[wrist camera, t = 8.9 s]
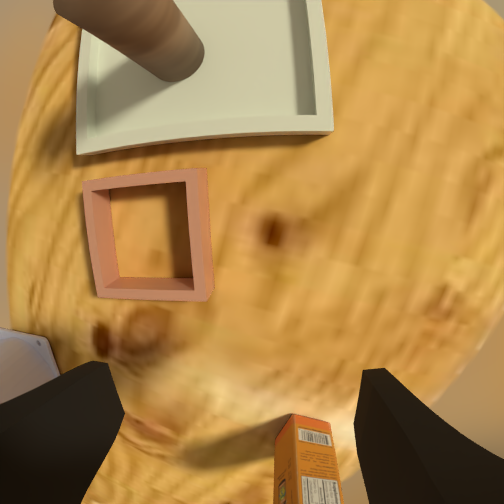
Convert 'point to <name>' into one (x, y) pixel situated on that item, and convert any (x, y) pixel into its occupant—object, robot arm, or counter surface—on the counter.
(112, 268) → the holder
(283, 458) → the supplement box
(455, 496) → the robot arm
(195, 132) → the tray
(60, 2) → the dowel
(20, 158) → the counter surface
